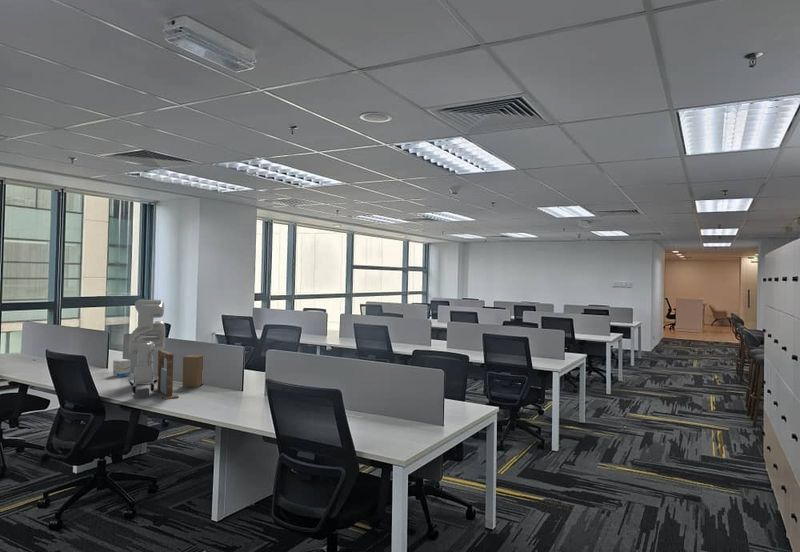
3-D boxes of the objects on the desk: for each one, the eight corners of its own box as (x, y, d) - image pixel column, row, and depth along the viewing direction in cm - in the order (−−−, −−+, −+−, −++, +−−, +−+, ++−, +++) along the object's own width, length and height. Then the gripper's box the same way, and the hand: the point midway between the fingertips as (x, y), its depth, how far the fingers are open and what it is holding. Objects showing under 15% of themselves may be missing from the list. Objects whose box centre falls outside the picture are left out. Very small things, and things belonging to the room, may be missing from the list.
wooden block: (203, 384, 364) (204, 355, 364) (196, 387, 354) (197, 357, 354) (189, 384, 365) (190, 354, 365) (182, 386, 355) (182, 356, 355)
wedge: (138, 398, 320) (138, 390, 320) (133, 394, 329) (134, 386, 330) (149, 397, 324) (149, 389, 324) (144, 393, 333) (144, 385, 333)
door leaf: (160, 391, 340) (160, 367, 340) (163, 390, 342) (164, 367, 342) (167, 396, 326) (168, 371, 326) (171, 395, 328) (172, 371, 328)
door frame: (151, 390, 344) (152, 349, 344) (164, 388, 348) (165, 348, 349) (164, 399, 319) (165, 355, 319) (178, 397, 324) (179, 354, 324)
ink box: (130, 375, 390) (131, 359, 390) (119, 377, 383) (119, 361, 383) (124, 374, 394) (124, 358, 394) (112, 376, 387) (113, 359, 387)
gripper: (157, 361, 332) (156, 389, 331) (126, 363, 321) (126, 392, 321) (160, 363, 326) (160, 391, 325) (129, 365, 315) (128, 394, 315)
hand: (143, 391), depth 323 cm, fingers open, 9 cm apart
